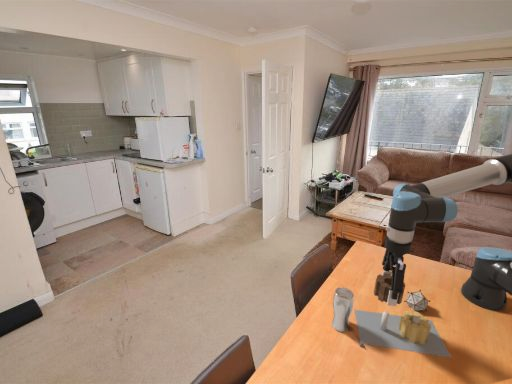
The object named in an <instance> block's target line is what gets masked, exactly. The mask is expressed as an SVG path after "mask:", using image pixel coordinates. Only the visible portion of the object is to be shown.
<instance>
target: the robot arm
mask: <svg viewBox="0 0 512 384" xmlns="http://www.w3.org/2000/svg"><path fill="white" fill-rule="evenodd" d="M503 184H512V153H510V154H504V155H501V156H496V157H494V158H491V159H487V160H486V161H484V162H483V164H481V165H478V166H473V167H469V168H467V169H463V170H459V171H457V172H453V173H450V174H446V175H443V176H440V177H436V178H433V179H429V180H426V181H423V182H419V183H416V184H415V183H414V184H411V185H410V184H408V183H400V184H398V185H396V186H395V187H394V189H393V192H392V197H393V198H392V201H391V204H390V212H389V219H388V226H387V227H385V231H386V236H385V240H384V248H385V252H384V255H383V259H382V262H381V265H382V274H381V275H382V276H383V275H385V274H390V276H392V280H391V288H389V295H388V300H387V302H386V304H387V306H391V307H397V300H398V295H399V293H401V294H402V293H403V284H404V283H405V274H406V268H407V263H404V261H405V260H404V259H405V258H404V256H405V255H406V254H409V253H410V252H411V248H412V244H413V243H412V241H413V240H414V236H415V230H416V225H417V224H418V223H444V222H445V223H446V222H451V221H454V220H455V219H456V218H457V215H458V211H459V207H458V205H457V202H456V201H454V200H453V199H452V198H448V197H451V196H455V195H459V194H462V193H465V192H468V191H472V190H476V189H479V188H482V187H485V186H489V185H494V186H500V185H503ZM460 292H461V295H463V297H464V298H465V299H467V300H468V301H469V302H471V303H472V304H474V305H476V306H478V307H481V308H483V309H487V310H491V311H502V310H505V309H506V308H507V305H508V296H507V294H508V295H510V296H512V251H509V250H506V249H502V248H499V247H498V248H497V247H491V246H486V247H481V248H480V249H478V251H477V253H476V255H475V258H474V261H473V266H472V270H471V274H470V276H469V277H468V278H467V279H466V281H465V282H463V283H462V286H461V289H460Z"/></svg>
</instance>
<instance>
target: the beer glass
mask: <svg viewBox="0 0 512 384" xmlns="http://www.w3.org/2000/svg"><path fill="white" fill-rule="evenodd" d="M354 297H355V295H354V292H353V291H352V290H351V289H349V288H347V287H341V286H340V287H337V288H336V289H334V294H333V301H332V309H333V318H332V321H331V325H332V328H333V329H334V330H336V331H337V332H339V333H345V332H347V331H349V328H350V326H349V319H350V318H351V315H352V312H353V309H354V308H353V307H354V300H355V299H354Z"/></svg>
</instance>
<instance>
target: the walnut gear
mask: <svg viewBox="0 0 512 384" xmlns="http://www.w3.org/2000/svg"><path fill="white" fill-rule="evenodd" d="M391 280H392V275H391V276H390V274H385V275H383V276H382V274H381V273H380V274H378V275H377V276H376V278H375V283H374V290H373V294H374V296H376V297H377V300H379V302H381V303H383V302H385V303H387V300H388V295H389V288H391ZM405 287H406V284H405V282H404V284H403V293H402V294H401V293H399V295H398V300H397V304H398V305H401V304H402V301H403V298H404V294H405ZM397 304H396V305H397Z"/></svg>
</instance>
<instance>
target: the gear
mask: <svg viewBox="0 0 512 384" xmlns="http://www.w3.org/2000/svg"><path fill="white" fill-rule="evenodd" d="M400 316H401V320H400V325H399V330H401V332H400V334H401V335H402V336H403V337H407V338H408V339H409V341H410V342H412V343H414V342H419V343H420V344H425V340H428V336H429V333H430V329H431V324H429V323H428V321H429V320H430V319H428V317H426V316H422V315H421V314H420V312H418V311H416V310H414V312H413V311H410V310H404V312H403V313H401V315H400ZM413 316H418V317H419V318H420V320H419V324H418V325H417V324H415V323H412V320H413Z"/></svg>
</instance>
